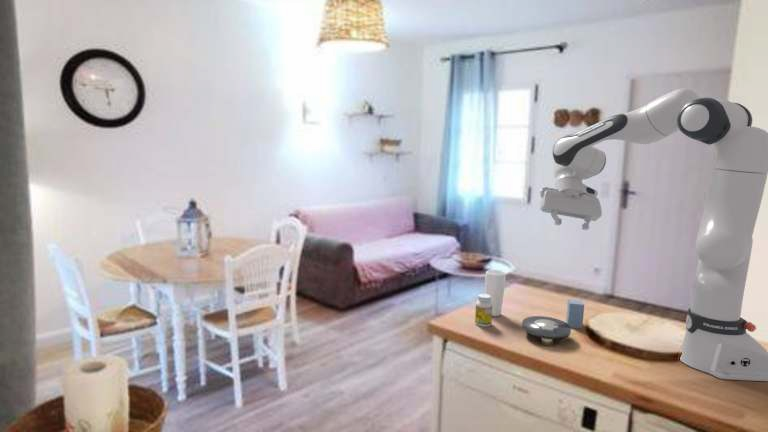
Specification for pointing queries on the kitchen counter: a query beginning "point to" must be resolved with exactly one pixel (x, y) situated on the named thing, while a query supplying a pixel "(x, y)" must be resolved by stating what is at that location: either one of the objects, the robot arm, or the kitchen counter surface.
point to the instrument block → (575, 313)
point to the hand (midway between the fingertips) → (572, 226)
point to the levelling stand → (546, 328)
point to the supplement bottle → (483, 310)
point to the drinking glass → (495, 289)
